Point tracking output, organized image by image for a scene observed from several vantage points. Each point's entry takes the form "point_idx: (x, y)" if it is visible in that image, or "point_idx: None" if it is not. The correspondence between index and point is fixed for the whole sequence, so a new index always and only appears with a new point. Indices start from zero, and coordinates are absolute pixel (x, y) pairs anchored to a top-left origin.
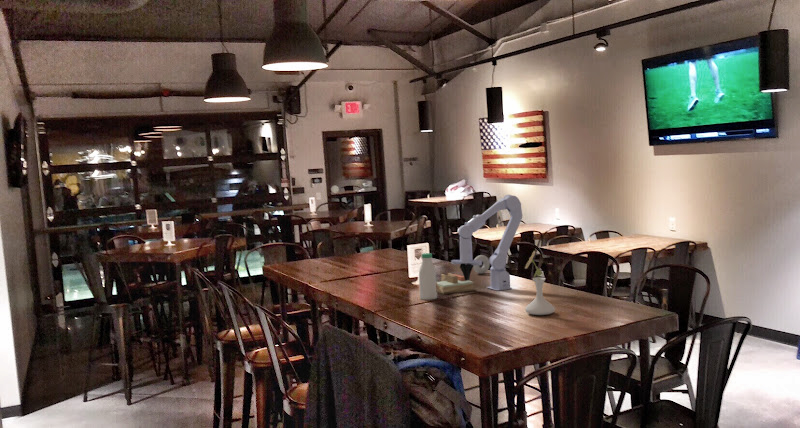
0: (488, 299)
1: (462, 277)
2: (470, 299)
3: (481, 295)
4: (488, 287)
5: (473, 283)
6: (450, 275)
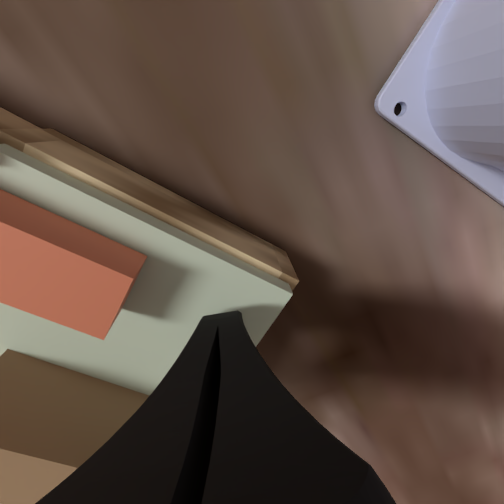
0: (492, 447)
1: (113, 320)
2: (391, 481)
3: (421, 389)
4: (403, 130)
5: (291, 280)
6: (13, 492)
